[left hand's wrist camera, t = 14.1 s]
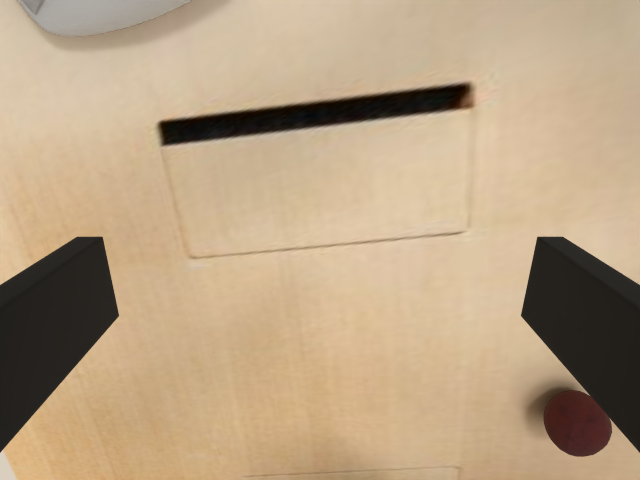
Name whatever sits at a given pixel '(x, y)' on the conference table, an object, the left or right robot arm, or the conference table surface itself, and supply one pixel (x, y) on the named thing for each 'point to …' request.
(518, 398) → the conference table surface
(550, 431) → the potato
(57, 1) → the projector
